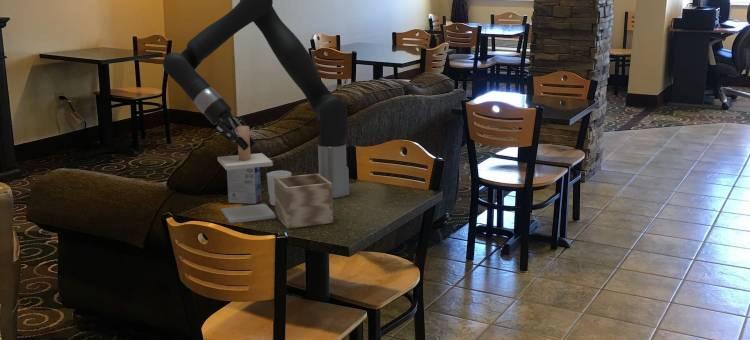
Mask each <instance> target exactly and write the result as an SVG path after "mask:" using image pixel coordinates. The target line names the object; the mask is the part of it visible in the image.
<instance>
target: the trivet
mask: <svg viewBox="0 0 750 340" xmlns="http://www.w3.org/2000/svg"><path fill="white" fill-rule="evenodd" d="M220 210H221V211H220V212H221V213H222V215H223V214H224V215H223V216H224V217H225V219H226V218H227V219H228V220H227V219H226V220H227V222H228V223H229V222H230V223H229V224H236V223H237V222H238V223H244V222H254V221H261V220H263V221H264V220H269V219H270V220H271V219H272V220H273V219H277V217H276V213H275V212H274V210H273V211H272V209H271V208H270V207H269V206H268V205H267V204H266V203H260V204H253V205H252V204H250V205H242V206H232V207H226V208H224V207H223V208H220ZM235 222H236V223H235Z"/></svg>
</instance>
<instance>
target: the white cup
mask: <svg viewBox="0 0 750 340" xmlns="http://www.w3.org/2000/svg"><path fill="white" fill-rule="evenodd" d="M289 176H292V172H291V171H289V170H274V171H270V172H269V171H268V172H267V173H266V179H267V180H266V181H267V190H268V197H269V204H270V205H271V206H273V207H274V206H275V188H274V178H279V177H289Z"/></svg>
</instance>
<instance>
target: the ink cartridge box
mask: <svg viewBox="0 0 750 340" xmlns="http://www.w3.org/2000/svg"><path fill="white" fill-rule="evenodd" d="M226 177H227V178H226V179H227V197H228V198H227V199H228V203H231V204H250V205H252V204H253V205H257V203H259V202H262V201H263V200H262V198H263V197H262V185H261V183H262V182H261V167H254V168H243V169H232V170H226Z"/></svg>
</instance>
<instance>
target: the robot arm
mask: <svg viewBox="0 0 750 340" xmlns="http://www.w3.org/2000/svg"><path fill="white" fill-rule="evenodd" d="M273 3H274V1H273V0H239V2H238V3H237V4H236V6H234V7H233V8H232V9H231V10H230V11H229V12H228V13H226V14H225V15H224V16H222V17H221V18H218V19H217V20H216V21H214V22H213V23H211V24H209V25H208V26H206V27H205V28H204V29H202V30H201V31H200V32H198V34H196V35H195V36H193V37H192V38H191V39H190V40H189V41H188V42H187V44H186V48H185V49H184V50H183V51H182V52H181V53H179V52H170V53H168V54H167V55H166V56H165V57H164V58H163V60H162V67H163V70H164V71H165V73H166V74H168V76H170V78H171V79H173V81H174V82H176V83H177V84H178V86H180V87H181V89H182V91H183V92H185V94H186V95H187V97H188V98H189V99H190V100H191V101H192V102H193V103H194V104H195V107H197V109H198V110H199V111H200V112H201V113H202V114H203V115H204V117H205V118H206V119H207V120H208V121H209V122H210V123H211V124H212V125H217V126H216V128H214V129H215V132H217V133H218V134H219V135H221V136H222V137H224V138H225V139H226V140H228V142H234V143H236V144H237V146H238V145H239V146H240V147H241V148H242V149H243V150H246V149H247V148H248V147H249V145H248V143H247V142H246V141H245V140H244V139H243V138H242V137H240V135H239V133H238V132H237V127H238V126H248V125H247V122H246V121H245V120H244V119H243V117H241V116H239V117H238V118H236V116H234V115H233V114H232V107H231V106H230V104H228V103H227V101H226V100H225V99H224V98H223V97H222V96H221V95H220V93H218V92H217V90H215V89H214V88H213V87H212V86H211V85H210V84H209V83H208V82H207V81H206V80H205V79H204V78H203V76H201V75H200V74H199V73H198V72H197V71H196V69H197V68H199V65H201V63H202V62H203V61H204V60H205V59H206V58H208V57H209V56H210V55H212V54H213V53H214V52H215V51H216V50H218V48H220V47H221V46H222V45H223V44H225V43H226V42H227V41H228V40H229V39H230V38H232V37H233V36H234V35H236V33H238V32H239V31H241V30H242V29H244V28H245V27H246V26H248V25H250V24H251V23H254V24H255V26H256V28H258V30H259V31H260V32H261V34H262V35H263V37H264V38H265V40H266V42H267V44H268V45H269V47H270V49H271V51H272V53H273V54H274V55H275V57H276V59H277V61H278V62H279V63H280V65H281V66H282V68H283V69H284V70H285V73H287V75H288V76H289V78H291V79H292V81H293V82H294V83H295V85H296V86H297V88H298V89H300V90H301V92H302V93H303V95H304V96H305V98H306V100H307V102H308V104H309V105H310V106H311V108H312V110H313V113H314V115H315V117H316V118H317V119H318V120H319V123H320V124H319V128H320V129H319V135H318V136H317V152H318V153H317V154H318V158H317V159H318V174H320V175H321V176H323V177H324V178H325V179H327V180H328V181H329V182H331V183H332V195H333V199H337V198H343V197H346V196H350V177H349V171H350V170H349V167H348V166H347V141H346V140H347V136H348V108H347V105H346V103H345V102H344V100H343V99H341V98H338V97H337V96H335V95H334V94H333V93H332V92H331V90H329V88H328V87H327V86H326V85H325V84H324V82H323V80H322V79H321V77H320V75H319V73H318V70H317V67H316V65H315V62H314V60H313V58H312V57H311V55H310V53H309V51H308V50H307V49H306V46H304V44H303V43H302V42H301V40H300V39H299V38H298V37H297V36H296V35H295V34H294V32H293V31H292V30H291V29H290V28H289V27H288V26H287V25H286V24H285V23H284V22H283V21H282V19H281V17H280V16H279V14H277V12H276V10H275V8H274V7H273ZM250 131H251V130H250V129H249V132H250ZM255 145H256V142H255V140H254V139H253V138H252V137H251V136H250V149H251V148H253V147H254V146H255Z"/></svg>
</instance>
